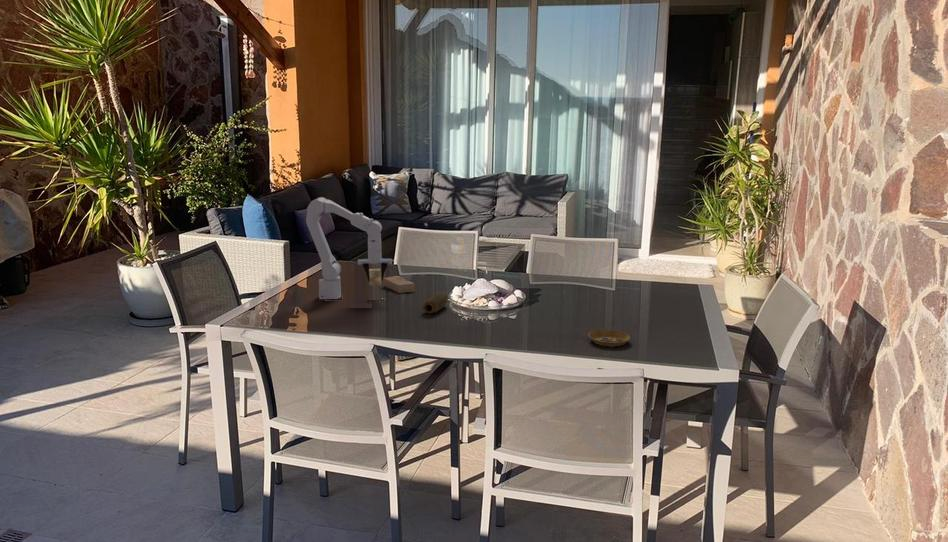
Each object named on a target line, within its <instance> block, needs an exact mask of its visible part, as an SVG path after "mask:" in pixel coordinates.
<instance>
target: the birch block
mask: <svg viewBox="0 0 948 542" xmlns="http://www.w3.org/2000/svg"><path fill="white" fill-rule="evenodd" d="M369 278H370V281H368V282H369V286H381V285H382V281H381V268H369Z"/></svg>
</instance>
